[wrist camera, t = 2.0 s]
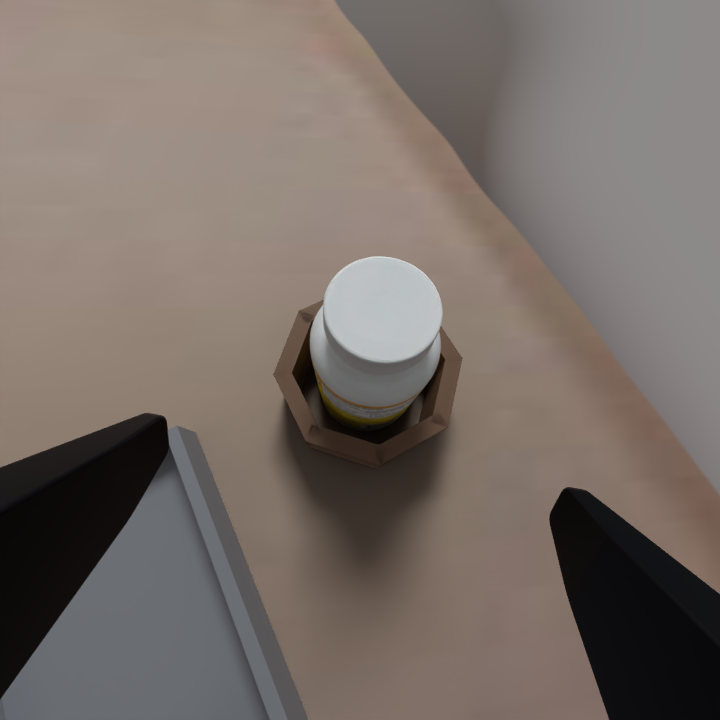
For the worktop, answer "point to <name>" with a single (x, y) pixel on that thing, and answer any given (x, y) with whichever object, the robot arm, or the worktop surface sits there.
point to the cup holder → (348, 447)
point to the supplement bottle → (375, 341)
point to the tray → (163, 620)
